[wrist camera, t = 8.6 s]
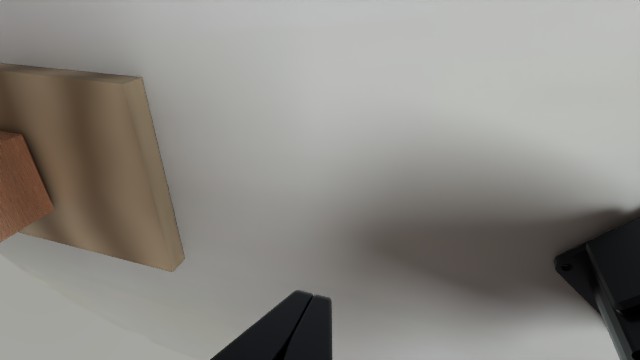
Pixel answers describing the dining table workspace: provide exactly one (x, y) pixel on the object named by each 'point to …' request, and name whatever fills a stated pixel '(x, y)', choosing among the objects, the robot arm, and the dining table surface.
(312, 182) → the dining table surface
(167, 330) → the dining table surface
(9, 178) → the shaft
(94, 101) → the bearing base
